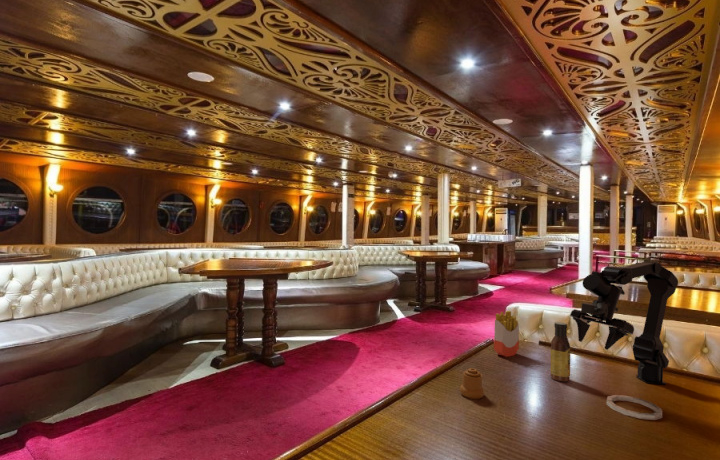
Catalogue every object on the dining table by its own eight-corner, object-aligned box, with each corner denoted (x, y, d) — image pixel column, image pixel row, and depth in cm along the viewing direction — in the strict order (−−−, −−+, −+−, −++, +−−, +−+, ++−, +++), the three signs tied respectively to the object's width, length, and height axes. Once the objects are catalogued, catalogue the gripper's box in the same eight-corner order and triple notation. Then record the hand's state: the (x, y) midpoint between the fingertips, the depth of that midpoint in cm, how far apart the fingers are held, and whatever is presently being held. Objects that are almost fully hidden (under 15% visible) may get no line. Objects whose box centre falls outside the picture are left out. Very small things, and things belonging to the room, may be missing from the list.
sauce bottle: (572, 383, 134) (574, 326, 134) (552, 381, 135) (554, 324, 135) (566, 376, 140) (567, 322, 140) (547, 374, 141) (549, 320, 141)
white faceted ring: (643, 400, 121) (643, 397, 121) (673, 421, 108) (673, 417, 108) (598, 397, 122) (598, 393, 122) (622, 417, 109) (622, 413, 109)
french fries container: (519, 354, 164) (520, 312, 165) (502, 358, 159) (504, 314, 159) (510, 351, 168) (511, 310, 168) (493, 354, 163) (494, 312, 163)
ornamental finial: (466, 387, 127) (488, 395, 122) (455, 394, 121) (477, 402, 116) (467, 363, 127) (489, 369, 122) (456, 369, 121) (478, 375, 116)
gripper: (567, 288, 136) (552, 329, 133) (620, 297, 118) (604, 344, 116) (587, 300, 139) (573, 340, 137) (641, 310, 122) (626, 357, 120)
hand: (592, 345), depth 127 cm, fingers open, 9 cm apart
